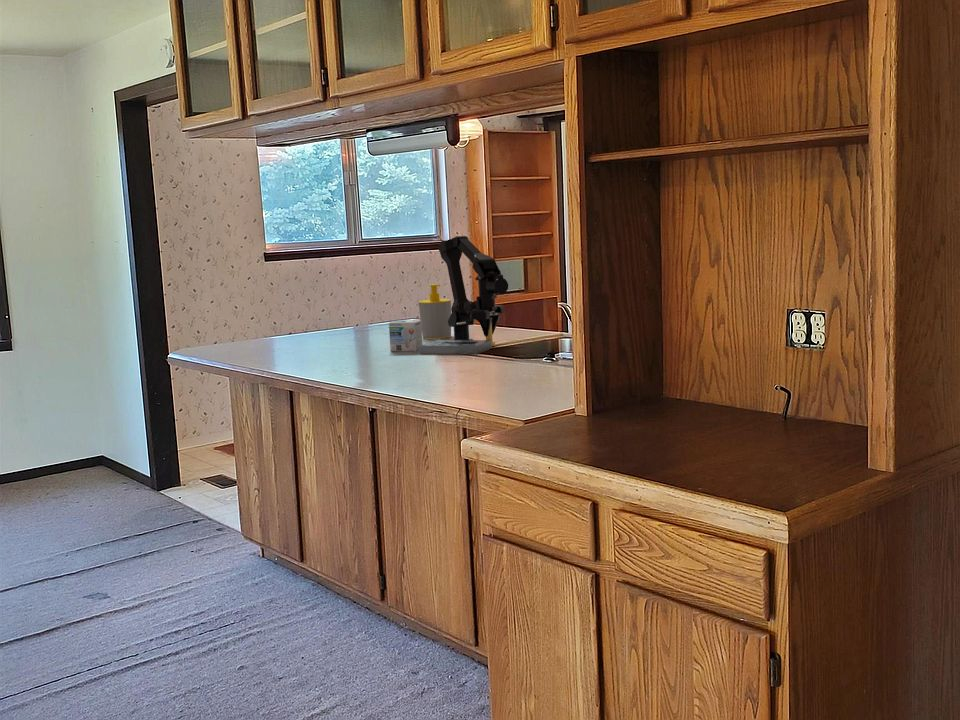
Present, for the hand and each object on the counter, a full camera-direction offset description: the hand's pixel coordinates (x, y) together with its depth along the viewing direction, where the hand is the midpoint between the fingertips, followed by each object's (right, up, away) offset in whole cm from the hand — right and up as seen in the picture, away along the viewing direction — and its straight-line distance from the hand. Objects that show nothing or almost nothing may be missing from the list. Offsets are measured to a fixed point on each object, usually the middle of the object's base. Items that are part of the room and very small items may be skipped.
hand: (488, 335), depth 347 cm
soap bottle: (-21, 0, +35) cm, 41 cm away
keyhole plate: (-12, -6, -7) cm, 15 cm away
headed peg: (0, -4, +1) cm, 4 cm away
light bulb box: (-30, -6, +3) cm, 31 cm away
